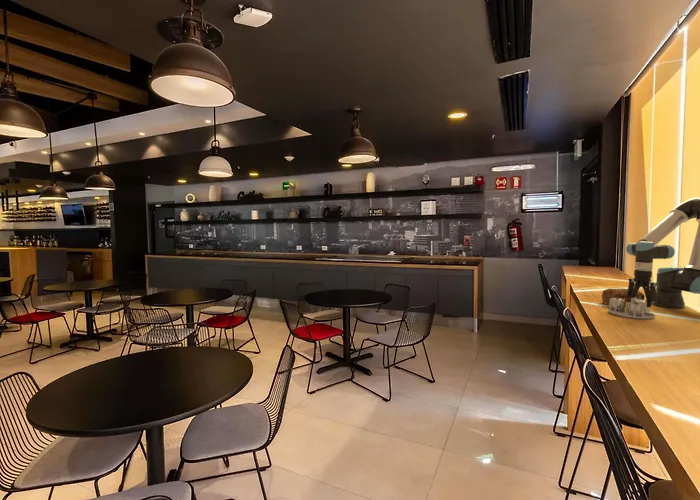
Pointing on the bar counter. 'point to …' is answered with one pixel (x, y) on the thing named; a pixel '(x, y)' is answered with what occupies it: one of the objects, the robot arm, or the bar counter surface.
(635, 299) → the planet gear
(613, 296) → the bread
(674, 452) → the bar counter surface
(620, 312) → the carrier
